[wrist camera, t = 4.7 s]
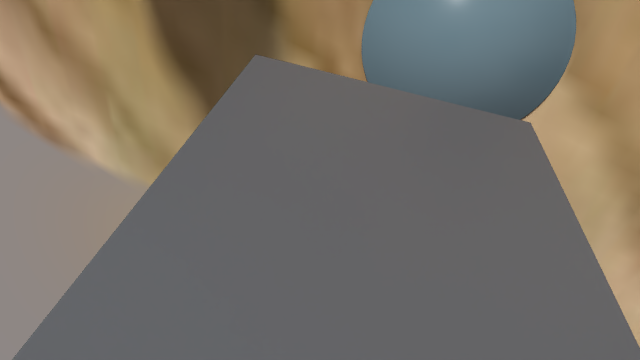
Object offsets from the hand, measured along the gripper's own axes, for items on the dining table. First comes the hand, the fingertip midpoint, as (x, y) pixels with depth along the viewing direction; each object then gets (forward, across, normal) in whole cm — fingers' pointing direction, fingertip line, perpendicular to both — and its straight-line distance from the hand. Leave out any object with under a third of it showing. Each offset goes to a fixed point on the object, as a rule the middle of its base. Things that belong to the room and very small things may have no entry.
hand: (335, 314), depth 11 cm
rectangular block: (+3, 0, 0) cm, 3 cm away
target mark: (+16, -4, -2) cm, 17 cm away
